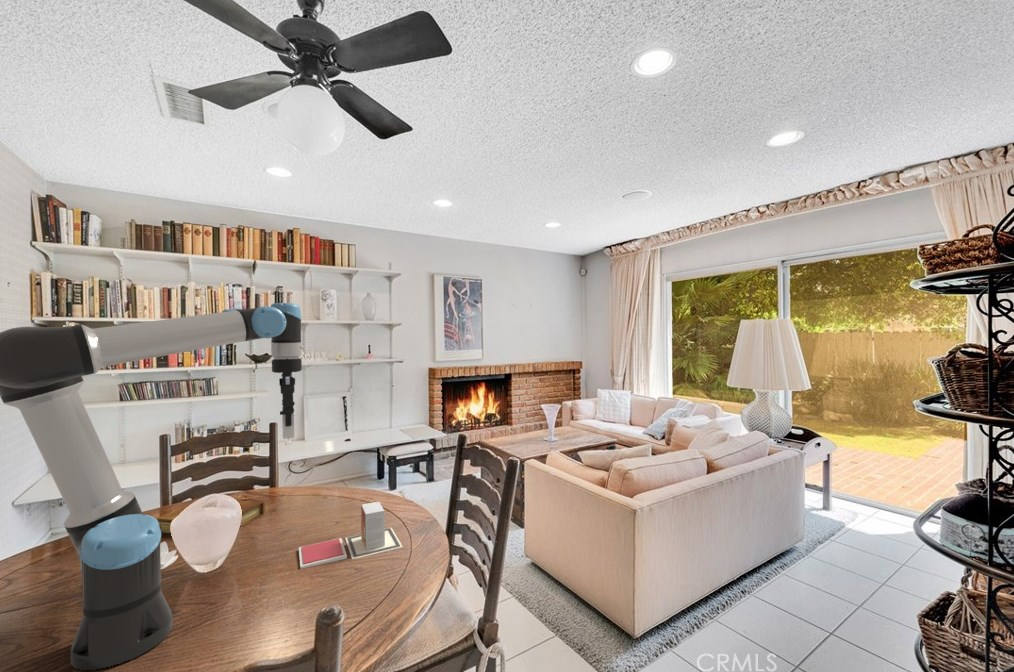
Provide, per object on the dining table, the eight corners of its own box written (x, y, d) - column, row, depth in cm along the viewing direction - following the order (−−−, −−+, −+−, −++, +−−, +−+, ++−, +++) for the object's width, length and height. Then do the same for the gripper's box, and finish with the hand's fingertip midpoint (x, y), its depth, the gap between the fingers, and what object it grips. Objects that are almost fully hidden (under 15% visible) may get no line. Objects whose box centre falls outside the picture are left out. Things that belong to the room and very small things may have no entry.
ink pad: (346, 559, 119) (346, 554, 119) (300, 571, 113) (300, 565, 113) (341, 541, 129) (341, 536, 129) (298, 551, 123) (298, 546, 123)
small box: (361, 538, 130) (360, 504, 130) (380, 534, 132) (379, 500, 132) (365, 550, 123) (364, 514, 122) (385, 546, 125) (384, 510, 125)
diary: (265, 516, 149) (264, 499, 149) (219, 542, 130) (219, 523, 130) (209, 511, 153) (208, 495, 153) (157, 536, 135) (156, 517, 135)
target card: (402, 547, 125) (402, 545, 125) (352, 560, 118) (352, 558, 118) (391, 528, 137) (391, 526, 137) (345, 539, 130) (345, 537, 130)
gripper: (303, 359, 112) (305, 440, 112) (299, 355, 134) (300, 423, 134) (270, 360, 108) (272, 444, 109) (272, 356, 130) (273, 426, 131)
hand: (288, 432), depth 121 cm, fingers open, 13 cm apart
